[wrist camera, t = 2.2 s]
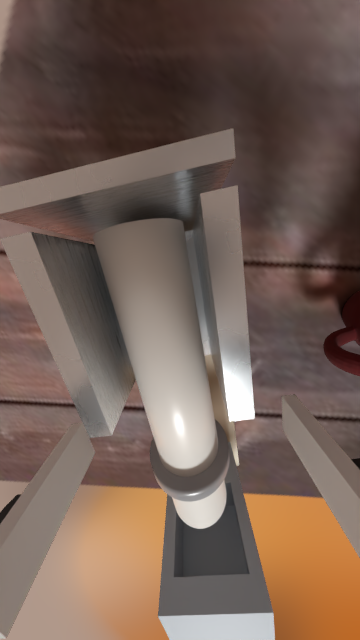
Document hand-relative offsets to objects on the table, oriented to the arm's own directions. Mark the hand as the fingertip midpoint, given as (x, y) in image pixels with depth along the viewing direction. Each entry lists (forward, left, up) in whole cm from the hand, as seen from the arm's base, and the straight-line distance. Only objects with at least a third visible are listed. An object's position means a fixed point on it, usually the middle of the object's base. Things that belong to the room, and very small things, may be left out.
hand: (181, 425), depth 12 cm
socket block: (+12, 0, -6) cm, 14 cm away
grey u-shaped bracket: (-8, 0, -6) cm, 10 cm away
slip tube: (-3, 0, -2) cm, 4 cm away
